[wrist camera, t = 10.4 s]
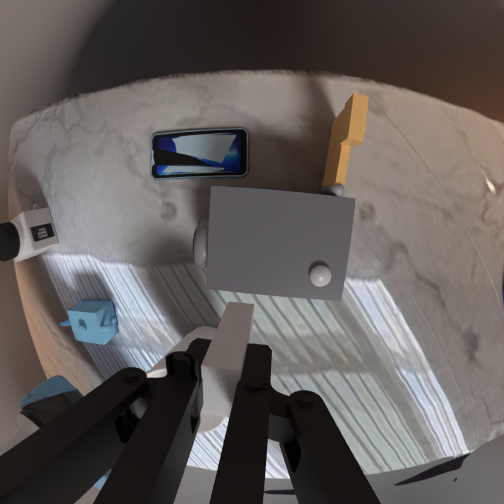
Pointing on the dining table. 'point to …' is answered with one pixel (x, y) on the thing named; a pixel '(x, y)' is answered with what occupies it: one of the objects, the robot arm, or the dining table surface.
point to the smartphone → (200, 154)
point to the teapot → (92, 321)
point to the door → (344, 142)
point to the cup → (204, 332)
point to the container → (27, 235)
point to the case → (275, 242)
